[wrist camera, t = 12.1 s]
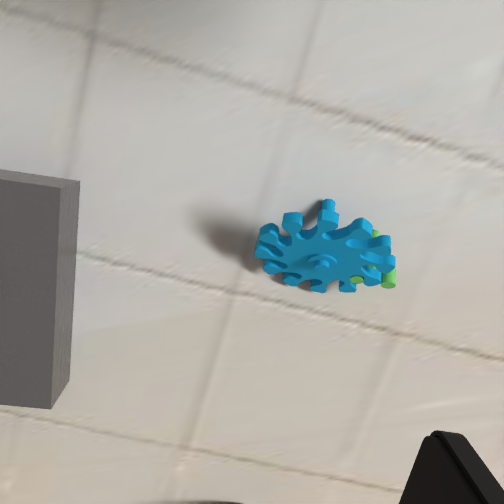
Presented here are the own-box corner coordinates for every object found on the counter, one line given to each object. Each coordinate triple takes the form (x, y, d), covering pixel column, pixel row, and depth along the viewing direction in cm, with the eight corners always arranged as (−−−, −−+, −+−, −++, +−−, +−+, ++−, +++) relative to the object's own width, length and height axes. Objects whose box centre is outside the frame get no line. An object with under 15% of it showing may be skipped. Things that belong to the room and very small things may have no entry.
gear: (230, 269, 34) (298, 207, 25) (244, 207, 37) (309, 135, 28) (347, 315, 37) (440, 273, 29) (352, 255, 40) (437, 202, 32)
